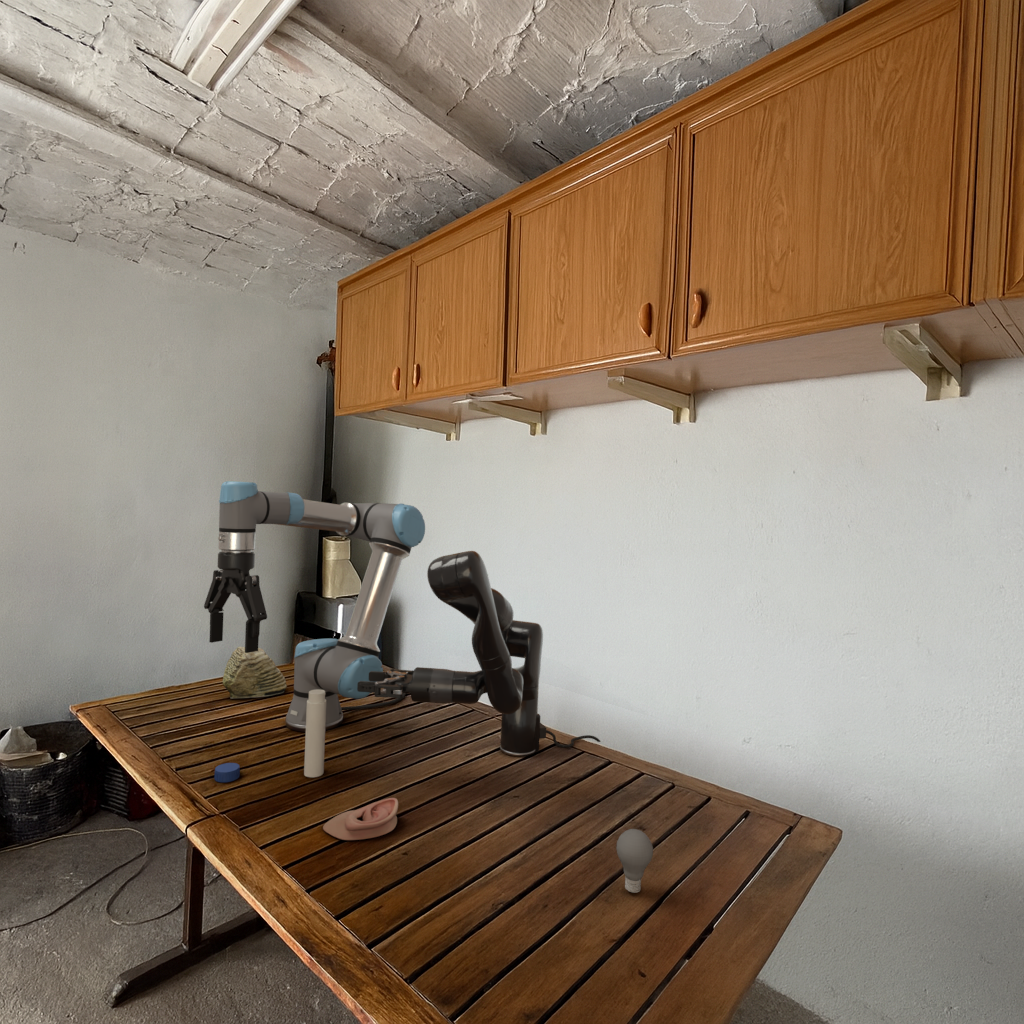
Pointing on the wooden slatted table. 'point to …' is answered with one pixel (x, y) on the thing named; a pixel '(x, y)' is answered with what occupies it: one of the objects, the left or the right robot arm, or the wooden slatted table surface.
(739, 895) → the wooden slatted table surface
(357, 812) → the anatomical model
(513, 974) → the wooden slatted table surface
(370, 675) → the right robot arm
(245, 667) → the fossil
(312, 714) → the white bottle
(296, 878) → the wooden slatted table surface
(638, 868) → the light bulb
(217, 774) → the lid
